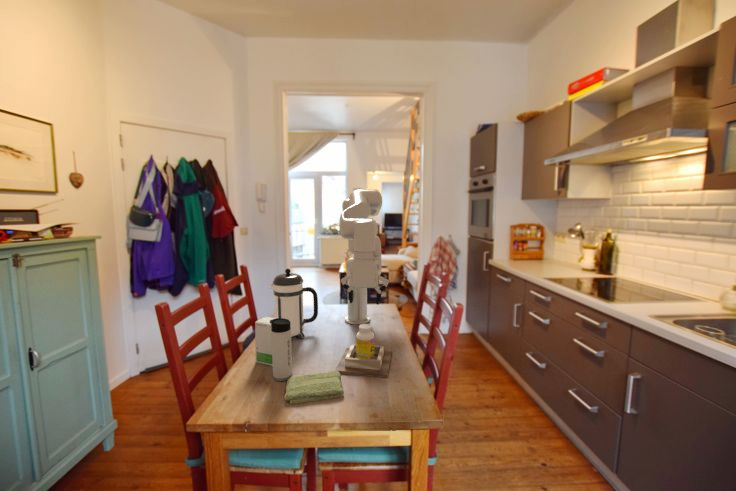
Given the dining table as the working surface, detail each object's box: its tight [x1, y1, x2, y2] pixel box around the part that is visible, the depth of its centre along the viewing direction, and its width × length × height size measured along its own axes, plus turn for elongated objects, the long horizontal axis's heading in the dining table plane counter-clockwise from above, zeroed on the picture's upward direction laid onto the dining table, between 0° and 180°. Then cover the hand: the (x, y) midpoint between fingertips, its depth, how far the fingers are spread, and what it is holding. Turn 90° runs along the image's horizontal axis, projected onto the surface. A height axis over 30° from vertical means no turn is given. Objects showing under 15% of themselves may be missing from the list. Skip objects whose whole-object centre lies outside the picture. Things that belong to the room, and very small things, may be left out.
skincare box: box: [254, 316, 276, 367], centre depth 119 cm, size 8×7×16 cm
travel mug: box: [270, 318, 293, 382], centre depth 108 cm, size 6×7×20 cm
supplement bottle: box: [355, 323, 375, 359], centre depth 118 cm, size 7×7×13 cm
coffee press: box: [269, 268, 319, 339], centre depth 142 cm, size 17×16×30 cm
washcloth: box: [284, 370, 345, 405], centre depth 102 cm, size 13×18×3 cm
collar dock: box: [334, 343, 393, 378], centre depth 119 cm, size 18×18×4 cm
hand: (364, 302), depth 117 cm, fingers open, 9 cm apart
